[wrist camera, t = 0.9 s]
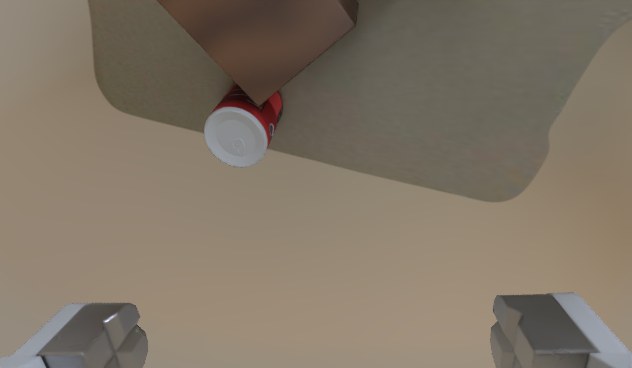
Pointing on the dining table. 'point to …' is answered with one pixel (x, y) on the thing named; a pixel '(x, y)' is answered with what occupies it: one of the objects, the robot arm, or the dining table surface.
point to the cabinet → (264, 36)
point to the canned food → (242, 127)
